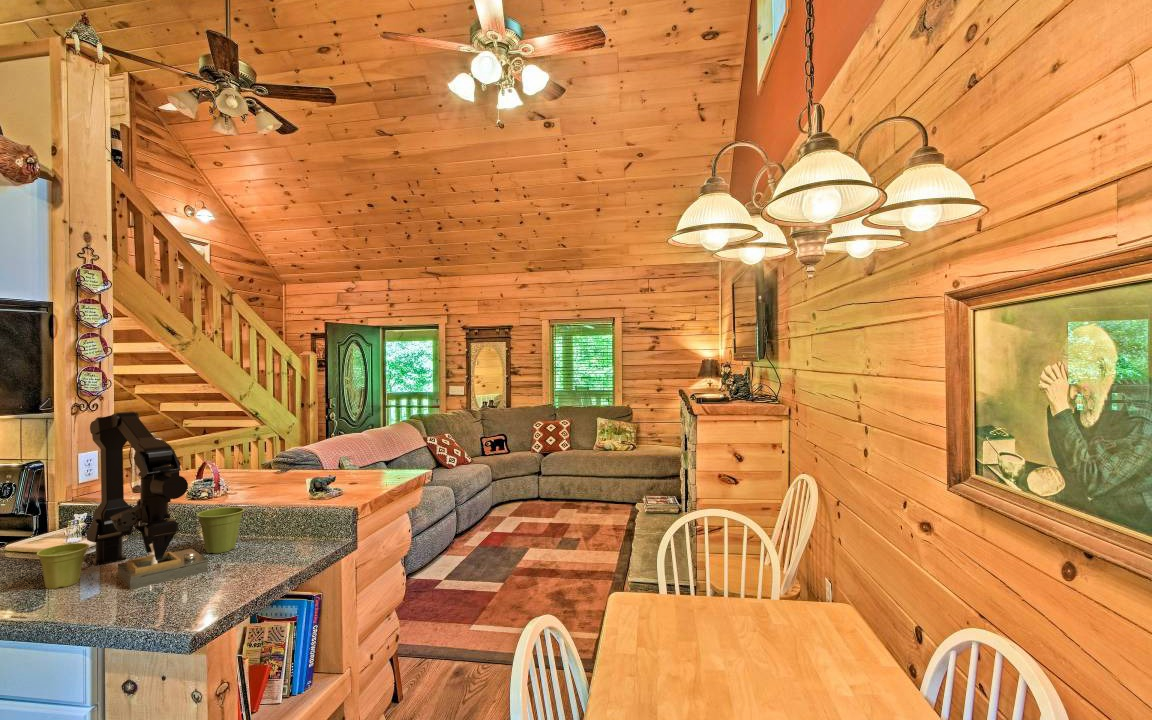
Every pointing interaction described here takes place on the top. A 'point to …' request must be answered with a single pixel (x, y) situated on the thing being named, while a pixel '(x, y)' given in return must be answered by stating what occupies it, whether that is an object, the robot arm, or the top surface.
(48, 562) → the plant pot
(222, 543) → the plant pot
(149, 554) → the chess piece
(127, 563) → the grey hollow block
